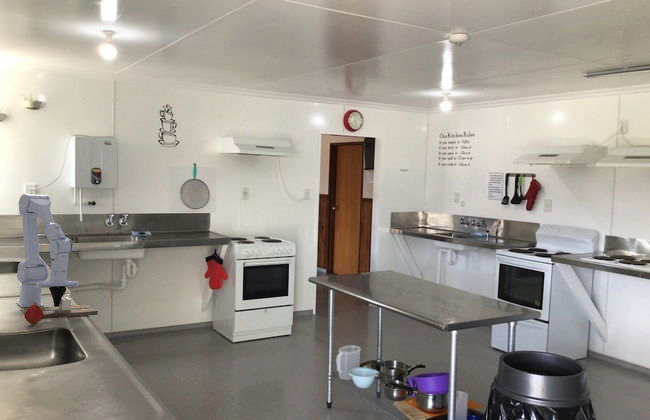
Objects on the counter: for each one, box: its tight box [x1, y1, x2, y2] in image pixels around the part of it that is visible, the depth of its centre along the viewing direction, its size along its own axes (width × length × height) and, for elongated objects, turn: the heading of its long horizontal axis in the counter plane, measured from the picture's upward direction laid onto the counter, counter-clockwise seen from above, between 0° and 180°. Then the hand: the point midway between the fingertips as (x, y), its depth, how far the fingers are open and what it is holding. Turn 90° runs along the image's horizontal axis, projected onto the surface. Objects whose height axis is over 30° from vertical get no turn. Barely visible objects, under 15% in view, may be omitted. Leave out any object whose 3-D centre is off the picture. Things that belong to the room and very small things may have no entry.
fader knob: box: [58, 296, 72, 311], centre depth 214 cm, size 5×3×4 cm, turn 40°
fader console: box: [40, 304, 99, 320], centre depth 214 cm, size 12×21×2 cm, turn 130°
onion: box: [23, 302, 44, 326], centre depth 194 cm, size 6×6×8 cm
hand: (56, 306), depth 212 cm, fingers closed
